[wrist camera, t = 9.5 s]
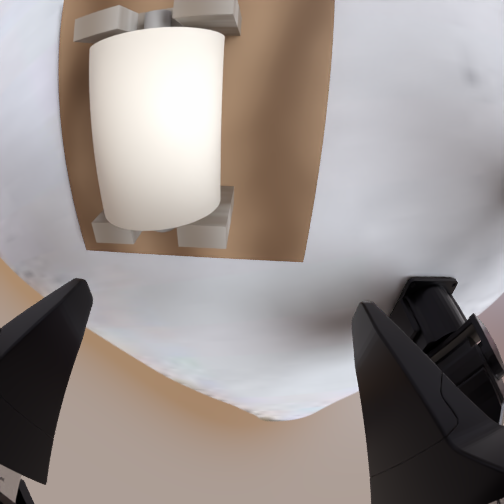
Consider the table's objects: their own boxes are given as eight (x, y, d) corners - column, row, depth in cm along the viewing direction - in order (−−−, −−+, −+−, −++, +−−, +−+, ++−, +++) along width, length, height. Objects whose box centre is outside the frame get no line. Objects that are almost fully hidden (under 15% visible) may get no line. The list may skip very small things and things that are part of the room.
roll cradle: (330, -23, 9) (363, -61, 4) (301, 254, 20) (313, 313, 15) (72, 1, 9) (16, -9, 4) (92, 243, 20) (56, 291, 15)
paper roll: (229, 21, 10) (221, -14, 6) (224, 203, 17) (215, 262, 12) (123, 33, 10) (65, 18, 5) (132, 203, 16) (92, 258, 11)
